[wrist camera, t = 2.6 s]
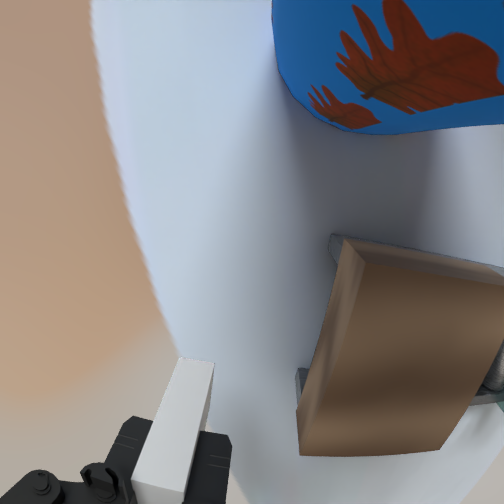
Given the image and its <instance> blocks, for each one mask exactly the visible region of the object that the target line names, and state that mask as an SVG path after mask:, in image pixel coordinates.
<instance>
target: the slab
mask: <svg viewBox="0 0 504 504" xmlns="http://www.w3.org/2000/svg"><path fill="white" fill-rule="evenodd" d="M503 339H504V277H503V276H502V275H500V274H498V273H497V272H495V271H494V270H492V269H490V268H489V267H487V266H484V265H480V264H475V263H470V262H465V261H461V260H456V259H451V258H446V257H441V256H436V255H431V254H426V253H421V252H416V251H410V250H405V249H400V248H395V247H389V246H384V245H379V244H373V243H368V242H362V241H357V240H351V239H346V238H344V241H343V246H342V250H341V255H340V259H339V263H338V267H337V272H336V276H335V280H334V284H333V288H332V292H331V296H330V299H329V303H328V307H327V311H326V314H325V318H324V322H323V325H322V329H321V333H320V336H319V340H318V343H317V346H316V350H315V353H314V357H313V360H312V363H311V366H310V370H309V373H308V376H307V379H306V382H305V386H304V389H303V392H302V395H301V398H300V401H299V404H298V407H297V410H296V416H297V428H298V441H299V453H300V455H301V456H330V457H354V456H382V455H397V454H408V453H418V452H427V451H435V450H440V448H441V447H442V445H443V444H444V443H445V441H446V440H447V438H448V437H449V435H450V434H451V433H452V431H453V430H454V428H455V427H456V425H457V424H458V422H459V420H460V419H461V417H462V416H463V414H464V413H465V411H466V409H467V408H468V406H469V404H470V403H471V401H472V399H473V398H474V396H475V394H476V393H477V391H478V389H479V387H480V385H481V384H482V382H483V380H484V378H485V376H486V374H487V372H488V370H489V369H490V367H491V365H492V363H493V361H494V359H495V357H496V354H497V352H498V350H499V348H500V346H501V344H502V342H503Z"/></svg>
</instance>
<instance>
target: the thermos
mask: <svg viewBox="0 0 504 504" xmlns="http://www.w3.org/2000/svg"><path fill="white" fill-rule="evenodd" d="M272 27H273V35H274V43H275V50H276V57H277V63H278V70H279V72H280V74H281V76H282V77H283V79H284V81H285V83H286V85H287V86H288V88H289V90H290V92H291V94H292V96H293V97H294V98H295V99H297V100H298V101H299V102H300V103H301V104H302V105H303V106H304V107H305V108H306V109H307V110H308V111H309V112H311V113H312V114H313V115H314V116H315V117H316V118H318V119H320V120H322V121H325V122H327V123H329V124H331V125H333V126H335V127H337V128H339V129H341V130H343V131H350V132H357V133H364V134H370V135H397V134H404V133H412V132H420V131H428V130H437V129H447V128H457V127H468V126H481V125H496V124H504V0H272Z"/></svg>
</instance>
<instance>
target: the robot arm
mask: <svg viewBox="0 0 504 504" xmlns="http://www.w3.org/2000/svg"><path fill="white" fill-rule="evenodd" d="M214 364H215V363H210V362H205V361H199V360H194V359H189V358H183V357H180V358H179V360H178V362H177V365H176V368H175V370H174V372H173V374H172V377H171V379H170V382H169V384H168V387H167V389H166V392H165V394H164V396H163V399H162V401H161V404H160V406H159V409H158V411H157V414H156V416H155V419H154V421H151V420H147V419H143V418H139V417H136V416H132V417H131V418H130V419H128V420H127V421H126V422H124V423H123V425H122V427H121V429H120V431H119V434H118V436H117V437H116V439H115V442H114V444H113V445H112V448H111V450H110V452H109V454H108V456H107V458H106V460H105V462H104V463H100V462H98V463H91V464H89V465H87V466H85V467H84V468H83V469H82V470H81V471H80V474H81V476H82V478H83V481H84V482H68V481H60V480H58V479H57V478H56V477H55V476H54V475H53V474H52V473H50V472H48V471H45V470H34V471H31V472H29V473H28V474H26V475H25V476H24V477H23V478H22V479H21V480H20V481H19V482H17V483H16V484H15V485H14V486H13V487H12V488H11V489H10V490H9V491H8V492H6V493H5V494H4V495H3V496H2V497H1V498H0V504H226V493H227V485H228V477H229V468H230V460H231V452H232V445H231V442H230V440H229V437H228V435H224V434H218V433H212V432H206V431H205V426H206V422H207V417H208V412H209V408H210V399H211V390H212V381H213V373H214Z"/></svg>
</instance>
